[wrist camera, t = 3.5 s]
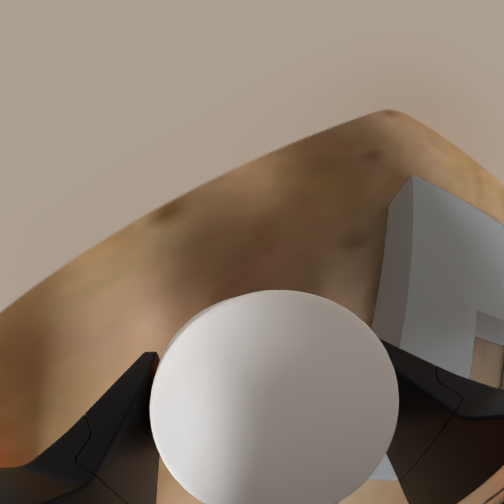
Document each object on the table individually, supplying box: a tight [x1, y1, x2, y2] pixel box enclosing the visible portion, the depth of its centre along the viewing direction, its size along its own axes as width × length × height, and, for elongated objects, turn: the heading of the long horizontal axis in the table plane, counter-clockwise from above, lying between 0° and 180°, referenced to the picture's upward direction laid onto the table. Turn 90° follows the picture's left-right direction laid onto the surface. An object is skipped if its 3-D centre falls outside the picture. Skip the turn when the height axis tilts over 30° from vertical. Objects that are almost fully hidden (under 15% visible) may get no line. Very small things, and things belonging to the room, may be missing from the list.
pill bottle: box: [150, 290, 399, 504], centre depth 9 cm, size 6×6×11 cm
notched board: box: [367, 174, 504, 480], centre depth 14 cm, size 18×20×4 cm
